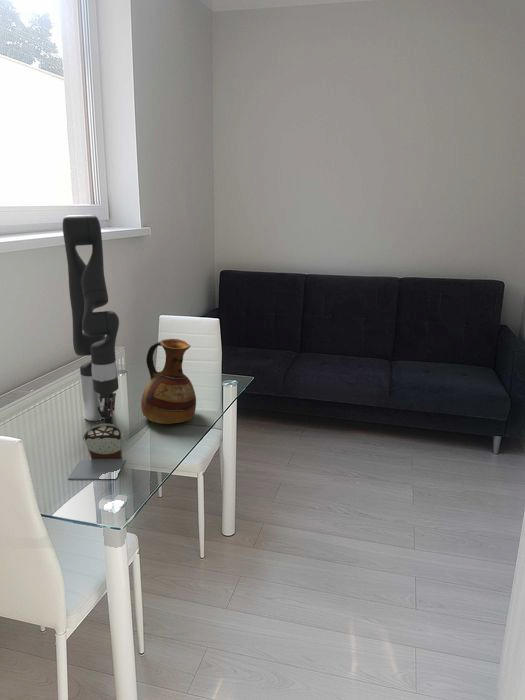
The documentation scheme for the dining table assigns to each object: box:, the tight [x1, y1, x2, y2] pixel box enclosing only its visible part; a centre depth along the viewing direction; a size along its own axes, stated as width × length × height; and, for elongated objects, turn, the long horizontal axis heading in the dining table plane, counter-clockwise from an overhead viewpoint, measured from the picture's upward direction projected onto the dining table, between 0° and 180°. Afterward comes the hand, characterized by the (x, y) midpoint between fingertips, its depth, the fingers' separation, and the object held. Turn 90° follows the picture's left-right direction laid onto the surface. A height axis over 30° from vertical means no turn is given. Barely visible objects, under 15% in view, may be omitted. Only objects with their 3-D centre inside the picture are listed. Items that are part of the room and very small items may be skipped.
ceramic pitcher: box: [140, 338, 197, 425], centre depth 190 cm, size 20×20×30 cm
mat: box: [68, 459, 126, 481], centre depth 158 cm, size 11×14×1 cm
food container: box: [82, 423, 125, 460], centre depth 165 cm, size 12×6×10 cm, turn 92°
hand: (109, 426), depth 167 cm, fingers closed
